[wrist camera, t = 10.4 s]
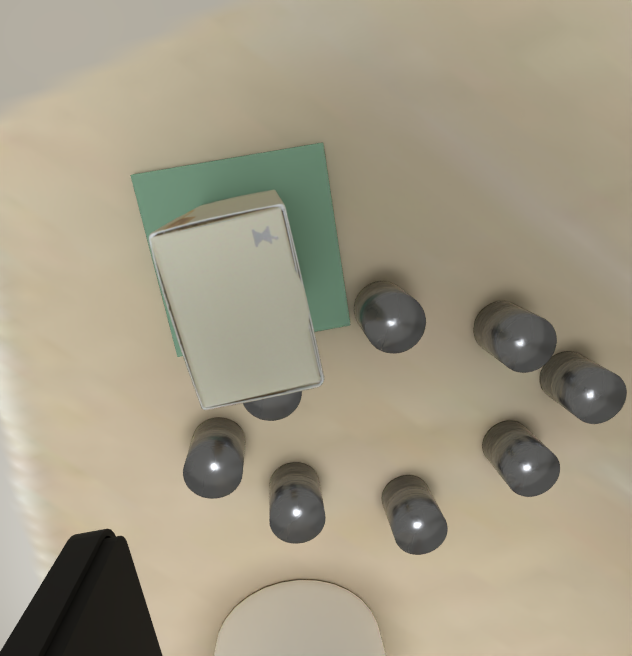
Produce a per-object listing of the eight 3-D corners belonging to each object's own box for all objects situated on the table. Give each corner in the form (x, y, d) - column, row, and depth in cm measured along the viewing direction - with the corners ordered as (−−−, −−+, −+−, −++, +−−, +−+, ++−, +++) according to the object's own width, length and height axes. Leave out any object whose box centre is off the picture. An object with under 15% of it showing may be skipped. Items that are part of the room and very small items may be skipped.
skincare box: (196, 205, 26) (137, 222, 15) (277, 187, 26) (284, 189, 15) (227, 320, 28) (198, 418, 16) (303, 303, 28) (327, 388, 16)
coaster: (321, 143, 27) (323, 142, 26) (348, 322, 29) (350, 325, 29) (133, 175, 26) (130, 174, 26) (179, 353, 29) (177, 357, 28)
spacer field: (587, 243, 29) (629, 251, 26) (589, 480, 34) (624, 513, 31) (159, 320, 28) (145, 339, 25) (221, 554, 33) (216, 596, 30)
